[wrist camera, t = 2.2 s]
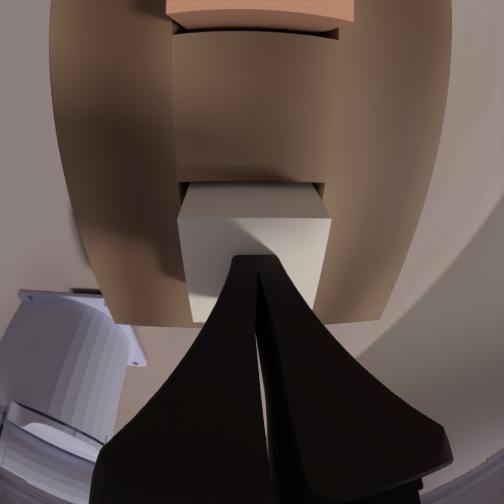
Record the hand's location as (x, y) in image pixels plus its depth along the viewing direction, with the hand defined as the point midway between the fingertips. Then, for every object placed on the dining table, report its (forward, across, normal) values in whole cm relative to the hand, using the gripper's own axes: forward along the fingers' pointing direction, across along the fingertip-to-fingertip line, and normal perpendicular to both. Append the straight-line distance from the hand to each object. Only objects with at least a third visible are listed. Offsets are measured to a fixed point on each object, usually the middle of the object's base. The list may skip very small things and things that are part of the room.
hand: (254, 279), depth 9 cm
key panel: (+6, 0, -5) cm, 7 cm away
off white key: (+3, 0, 0) cm, 3 cm away
